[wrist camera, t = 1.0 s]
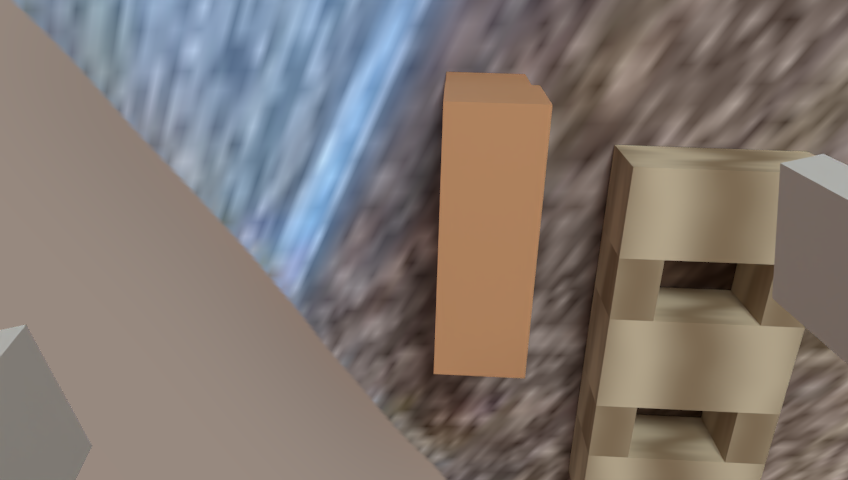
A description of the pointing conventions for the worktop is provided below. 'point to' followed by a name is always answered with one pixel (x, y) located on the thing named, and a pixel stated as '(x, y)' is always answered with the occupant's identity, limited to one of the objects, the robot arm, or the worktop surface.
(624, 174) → the beige flat slotted piece
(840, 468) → the worktop surface
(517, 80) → the orange-brown block
